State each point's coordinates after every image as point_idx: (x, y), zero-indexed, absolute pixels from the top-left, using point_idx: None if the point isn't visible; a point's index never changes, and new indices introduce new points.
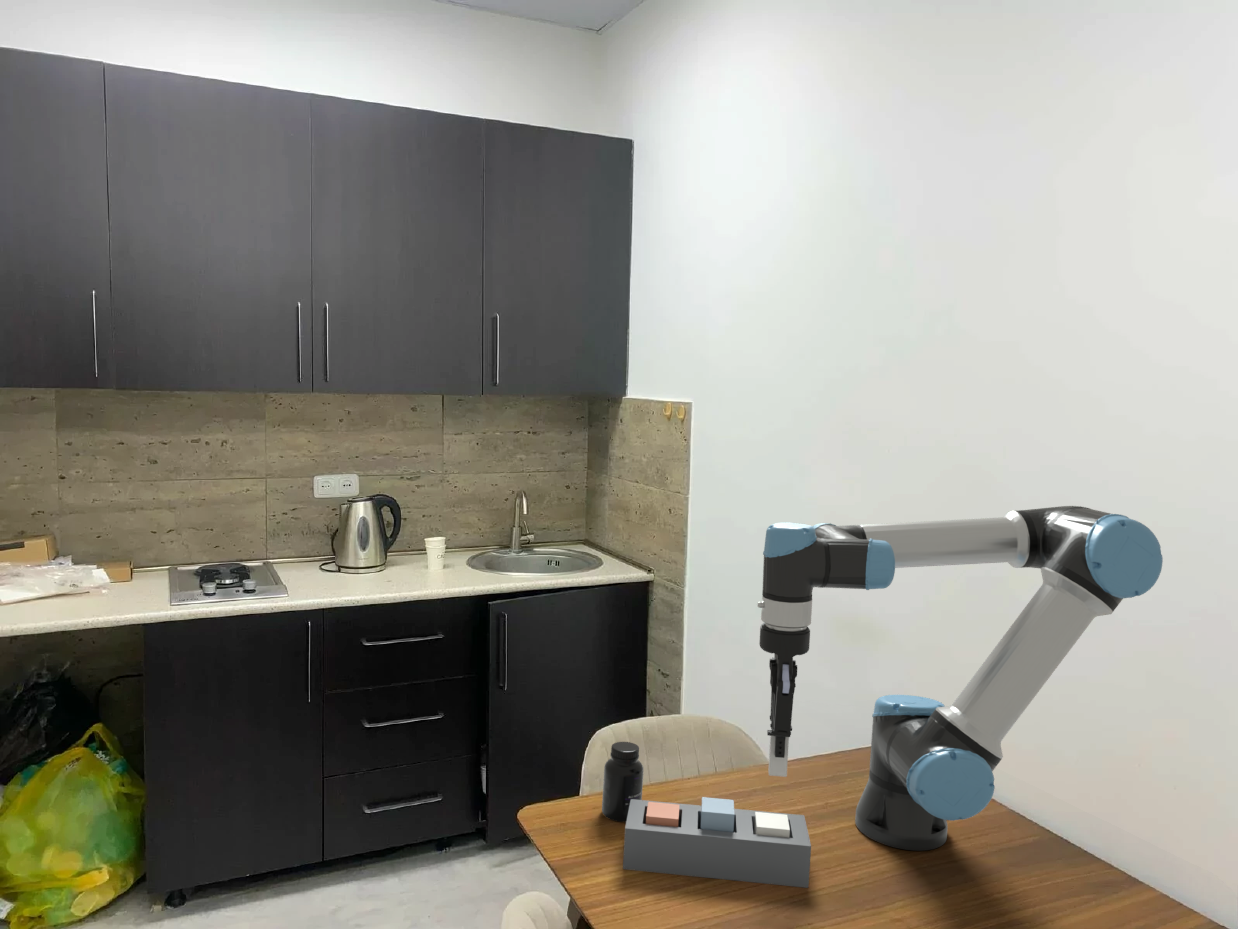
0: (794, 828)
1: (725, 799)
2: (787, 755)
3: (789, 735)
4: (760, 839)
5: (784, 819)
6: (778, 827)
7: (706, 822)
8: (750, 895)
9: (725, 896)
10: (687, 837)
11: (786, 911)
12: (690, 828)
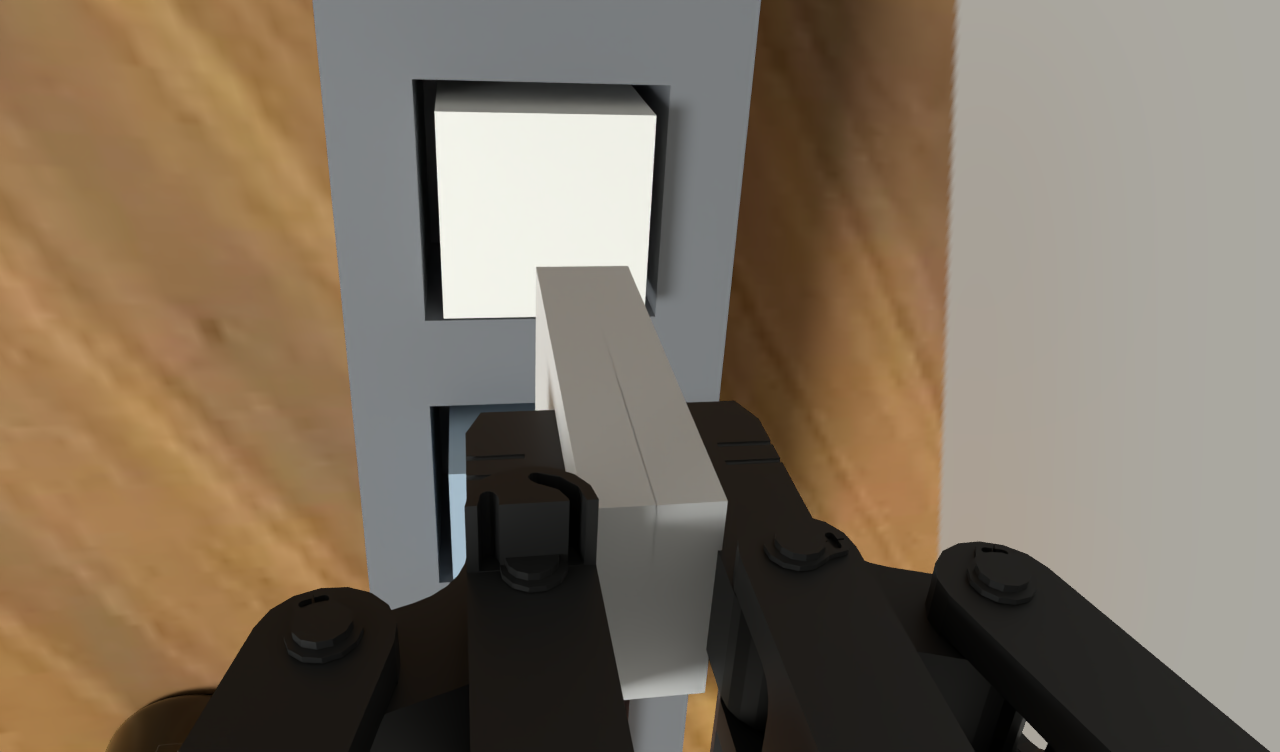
0: (538, 59)
1: (452, 517)
2: (666, 366)
3: (1048, 576)
4: (710, 281)
5: (512, 137)
6: (633, 187)
7: None
8: (781, 242)
9: (794, 340)
10: None
11: (896, 94)
12: None
